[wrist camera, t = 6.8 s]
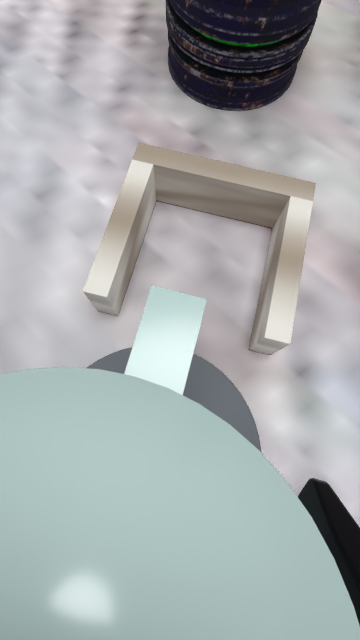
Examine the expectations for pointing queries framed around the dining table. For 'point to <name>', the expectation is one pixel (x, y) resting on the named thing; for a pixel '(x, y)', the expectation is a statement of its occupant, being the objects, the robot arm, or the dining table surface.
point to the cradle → (220, 199)
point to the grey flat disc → (202, 392)
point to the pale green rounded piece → (151, 509)
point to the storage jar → (237, 48)
